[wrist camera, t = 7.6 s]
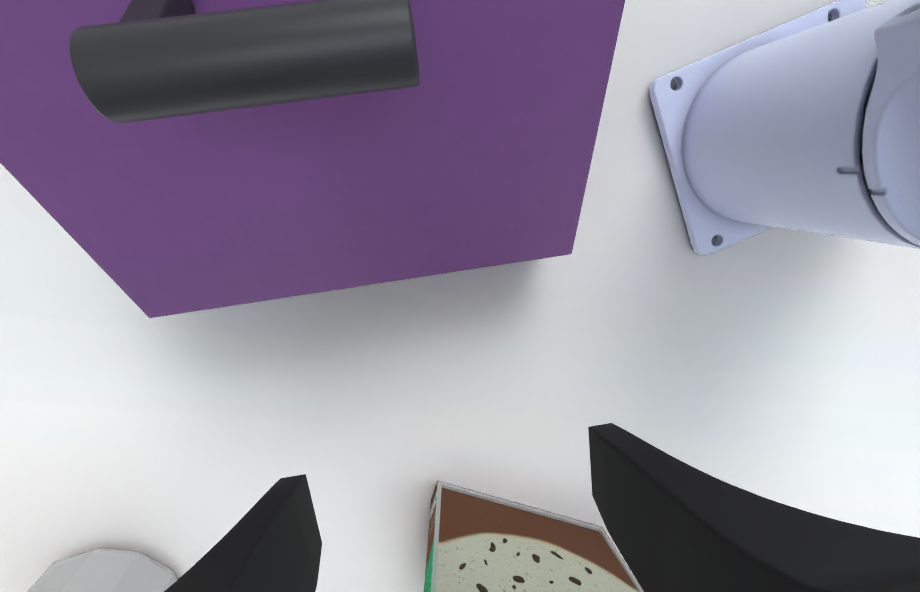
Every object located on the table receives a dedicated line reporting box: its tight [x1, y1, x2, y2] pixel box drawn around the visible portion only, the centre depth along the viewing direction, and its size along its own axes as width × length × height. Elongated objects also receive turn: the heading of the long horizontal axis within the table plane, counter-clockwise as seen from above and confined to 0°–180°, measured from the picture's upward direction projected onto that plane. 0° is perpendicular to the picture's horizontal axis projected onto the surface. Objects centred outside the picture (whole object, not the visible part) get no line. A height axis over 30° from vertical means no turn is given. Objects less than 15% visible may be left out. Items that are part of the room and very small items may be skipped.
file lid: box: [0, 0, 625, 318], centre depth 12 cm, size 12×15×4 cm
